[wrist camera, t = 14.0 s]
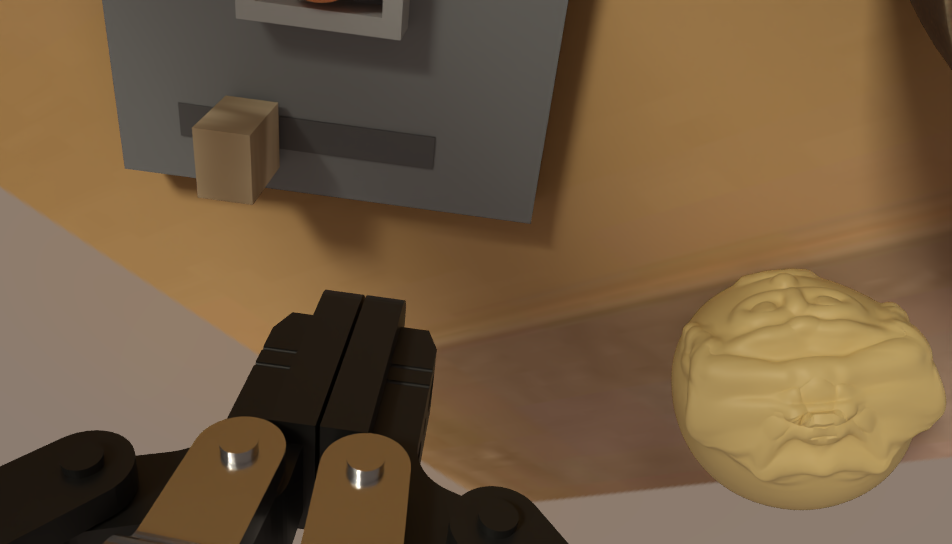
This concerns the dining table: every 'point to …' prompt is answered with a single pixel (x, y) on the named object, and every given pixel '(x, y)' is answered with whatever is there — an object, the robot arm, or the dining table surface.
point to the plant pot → (937, 24)
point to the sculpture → (802, 389)
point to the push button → (321, 1)
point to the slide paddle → (236, 149)
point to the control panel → (351, 92)
